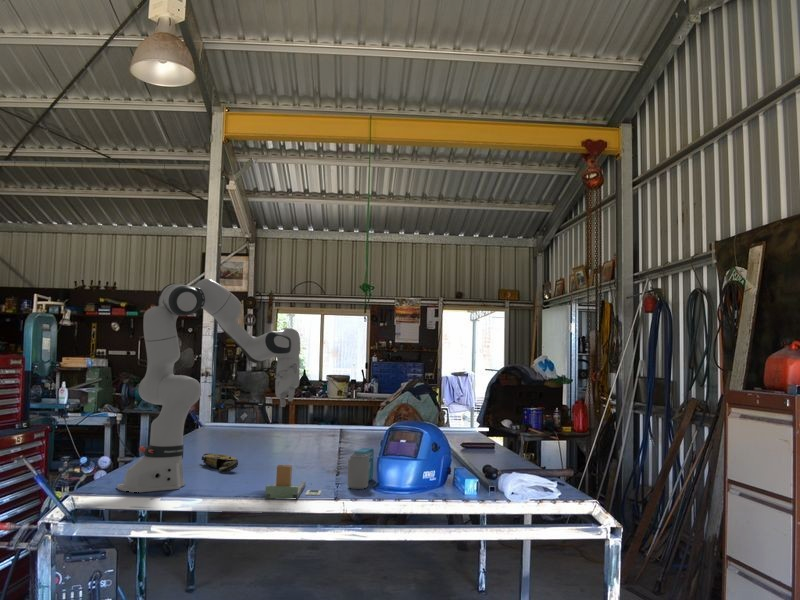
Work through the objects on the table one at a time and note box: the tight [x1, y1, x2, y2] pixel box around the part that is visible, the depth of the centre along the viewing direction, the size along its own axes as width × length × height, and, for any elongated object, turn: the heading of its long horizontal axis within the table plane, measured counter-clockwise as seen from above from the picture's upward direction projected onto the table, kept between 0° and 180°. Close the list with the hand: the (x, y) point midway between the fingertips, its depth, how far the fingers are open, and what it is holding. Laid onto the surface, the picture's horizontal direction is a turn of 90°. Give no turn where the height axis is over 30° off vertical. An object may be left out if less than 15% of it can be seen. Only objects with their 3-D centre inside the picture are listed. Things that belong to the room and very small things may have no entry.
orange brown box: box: [275, 464, 293, 486], centre depth 224 cm, size 4×4×10 cm
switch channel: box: [264, 481, 323, 500], centre depth 231 cm, size 24×17×4 cm
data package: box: [353, 447, 375, 482], centre depth 257 cm, size 12×4×12 cm, turn 166°
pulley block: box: [201, 453, 239, 473], centre depth 277 cm, size 14×6×30 cm
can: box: [347, 453, 369, 490], centre depth 242 cm, size 8×8×12 cm
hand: (286, 403), depth 255 cm, fingers open, 8 cm apart
